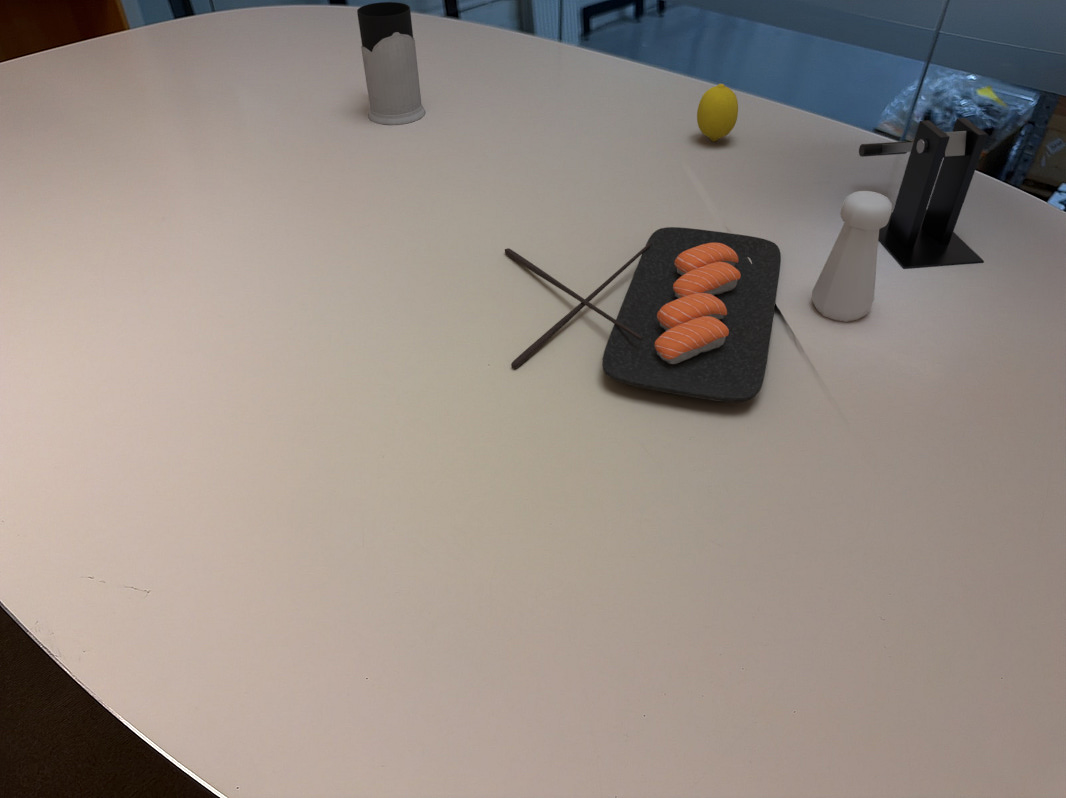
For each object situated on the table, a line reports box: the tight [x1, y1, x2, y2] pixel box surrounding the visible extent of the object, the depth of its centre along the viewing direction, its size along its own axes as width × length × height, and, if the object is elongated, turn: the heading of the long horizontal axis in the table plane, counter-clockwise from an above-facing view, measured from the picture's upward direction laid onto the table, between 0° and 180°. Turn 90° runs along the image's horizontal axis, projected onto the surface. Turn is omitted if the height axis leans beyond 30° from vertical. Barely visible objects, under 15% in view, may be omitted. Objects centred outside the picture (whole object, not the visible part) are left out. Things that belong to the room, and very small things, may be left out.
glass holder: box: [356, 1, 426, 126], centre depth 122 cm, size 9×14×15 cm, turn 30°
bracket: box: [878, 117, 988, 270], centre depth 87 cm, size 12×9×14 cm
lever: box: [858, 131, 967, 158], centre depth 90 cm, size 15×6×2 cm, turn 7°
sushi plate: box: [504, 226, 782, 403], centre depth 82 cm, size 29×30×4 cm
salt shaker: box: [811, 190, 893, 323], centre depth 77 cm, size 6×6×13 cm
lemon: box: [696, 83, 739, 142], centre depth 112 cm, size 6×6×8 cm
